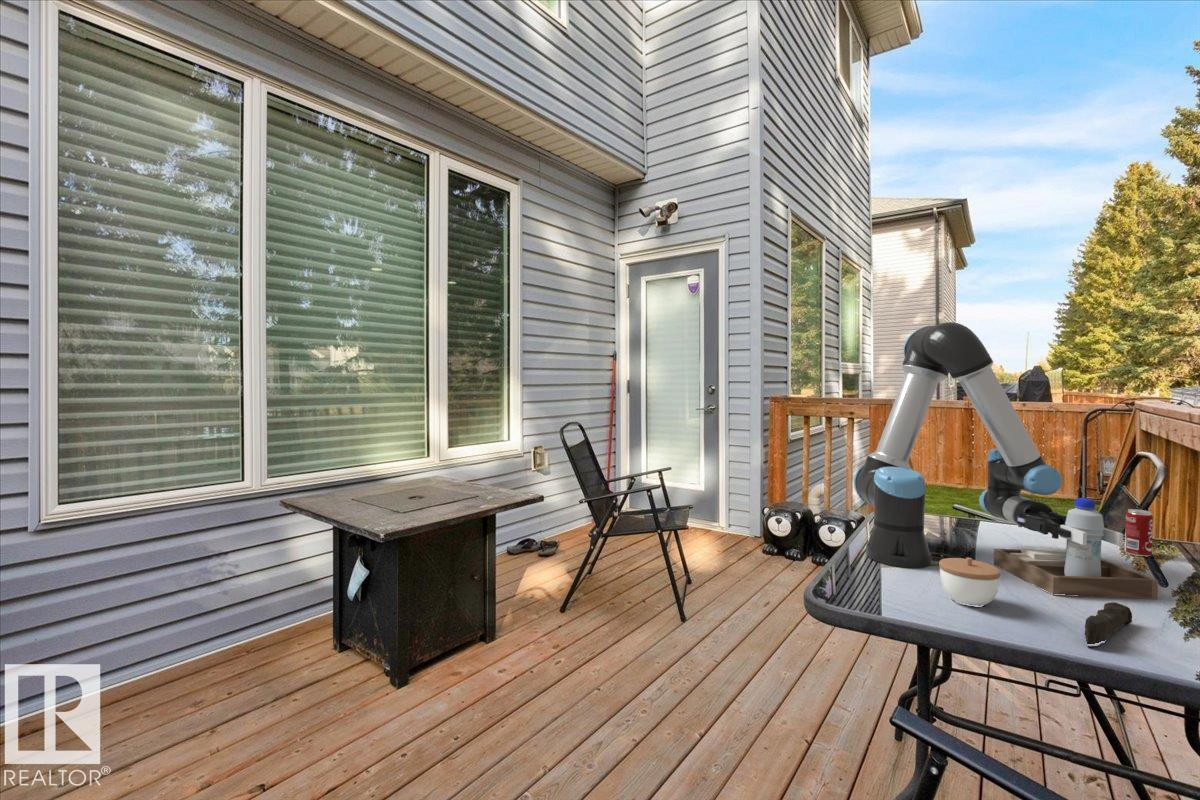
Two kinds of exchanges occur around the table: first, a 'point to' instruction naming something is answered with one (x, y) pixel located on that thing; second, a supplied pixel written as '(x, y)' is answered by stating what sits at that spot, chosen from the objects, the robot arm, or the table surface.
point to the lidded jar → (969, 580)
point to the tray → (1079, 578)
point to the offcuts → (1042, 556)
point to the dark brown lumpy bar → (1106, 622)
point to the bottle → (1086, 556)
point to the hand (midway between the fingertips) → (1102, 539)
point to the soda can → (1138, 532)
